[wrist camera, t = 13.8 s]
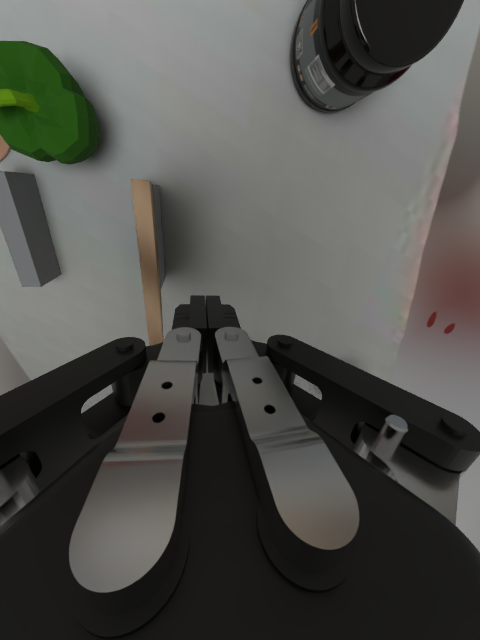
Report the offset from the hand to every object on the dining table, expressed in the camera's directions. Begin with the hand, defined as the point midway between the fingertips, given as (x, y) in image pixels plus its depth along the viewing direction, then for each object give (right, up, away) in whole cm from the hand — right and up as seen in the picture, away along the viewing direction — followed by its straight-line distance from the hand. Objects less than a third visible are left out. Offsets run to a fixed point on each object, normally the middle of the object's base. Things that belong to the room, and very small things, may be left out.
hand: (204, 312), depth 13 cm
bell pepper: (-17, +21, +14) cm, 31 cm away
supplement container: (+12, +30, +15) cm, 35 cm away
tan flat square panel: (-7, +5, +9) cm, 13 cm away
